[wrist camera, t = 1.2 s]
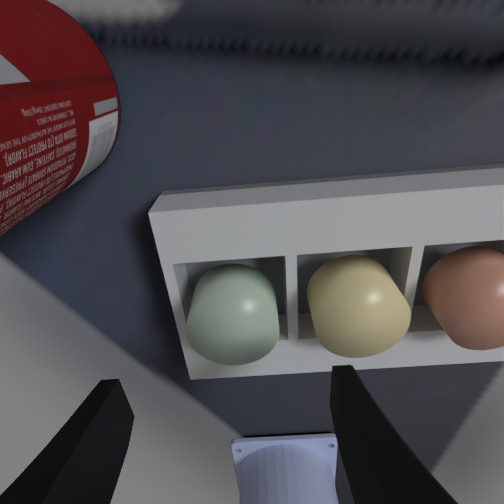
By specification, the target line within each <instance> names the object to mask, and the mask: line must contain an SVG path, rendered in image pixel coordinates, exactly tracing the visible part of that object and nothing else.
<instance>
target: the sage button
mask: <svg viewBox="0 0 504 504" xmlns="http://www.w3.org/2000/svg"><path fill="white" fill-rule="evenodd" d="M186 336H187V339H188V341H189V343H190V345H191V346H192V348H193V349H194V350H195V351H196V352H197V353H198V354H200V355H201V356H202V357H204V358H206V359H208V360H210V361H212V362H215V363H219V364H223V365H244V364H249V363H252V362H255V361H257V360H260V359H261V358H263V357H265V356H266V355H267V354H269V353H270V352H271V351H272V349H273V348H274V347H275V345H276V343H277V341H278V338H279V320H278V311H277V302H276V293H275V289H274V286H273V284H272V282H271V281H270V279H269V278H268V277H267V276H266V275H265V274H264V273H262V272H261V271H260V270H258V269H256V268H254V267H251V266H248V265H244V264H237V263H231V264H224V265H220V266H217V267H214V268H212V269H210V270H209V271H207V272H206V273H205V274H204V275H203V276H202V277H201V278H200V279H199V281H198V282H197V284H196V287H195V290H194V294H193V298H192V303H191V307H190V311H189V315H188V319H187V324H186Z"/></svg>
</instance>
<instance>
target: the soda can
mask: <svg viewBox="0 0 504 504" xmlns="http://www.w3.org/2000/svg"><path fill="white" fill-rule="evenodd" d="M120 122H121V104H120V97H119V91H118V88H117V84H116V81H115V78H114V75H113V72H112V70H111V68H110V66H109V63H108V62H107V60H106V58H105V56H104V54H103V53H102V51H101V50H100V48H99V46H98V45H97V44H96V42H95V41H94V40H93V38H92V37H91V36H90V35H89V34H88V32H87V31H86V30H85V29H84V28H83V27H82V26H81V25H80V24H79V23H78V22H77V21H76V20H75V19H74V18H72V17H71V16H70V15H69V14H67V13H66V12H65V11H63V10H62V9H61V8H59V7H58V6H56V5H54V4H53V3H50V2H49V1H47V0H0V236H1V235H2V234H4V233H5V232H7V231H8V230H9V229H11V228H12V227H14V226H15V225H16V224H18V223H19V222H21V221H22V220H23V219H25V218H26V217H28V216H29V215H31V214H32V213H33V212H35V211H36V210H38V209H39V208H40V207H42V206H43V205H45V204H46V203H48V202H49V201H50V200H52V199H53V198H55V197H56V196H57V195H59V194H60V193H62V192H63V191H64V190H66V189H67V188H69V187H70V186H72V185H73V184H74V183H76V182H77V181H79V180H80V179H81V178H83V177H84V176H86V175H87V174H89V173H90V172H91V171H93V170H94V169H95V168H97V167H98V166H99V165H100V164H101V163H102V162H103V161H104V160H105V159H106V158H107V157H108V155H109V154H110V152H111V151H112V149H113V147H114V145H115V143H116V140H117V137H118V134H119V129H120Z"/></svg>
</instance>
